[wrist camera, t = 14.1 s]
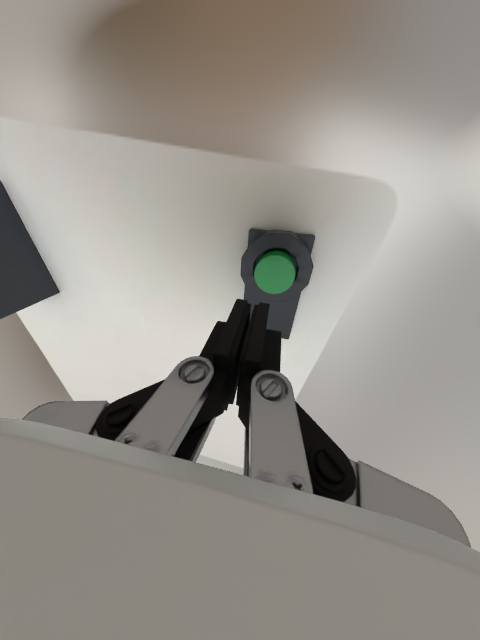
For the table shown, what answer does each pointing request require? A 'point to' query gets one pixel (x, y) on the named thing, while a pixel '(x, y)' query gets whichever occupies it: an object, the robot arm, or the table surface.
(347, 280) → the table surface
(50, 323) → the table surface
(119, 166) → the table surface
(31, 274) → the dial panel
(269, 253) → the button
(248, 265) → the button block
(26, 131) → the table surface
